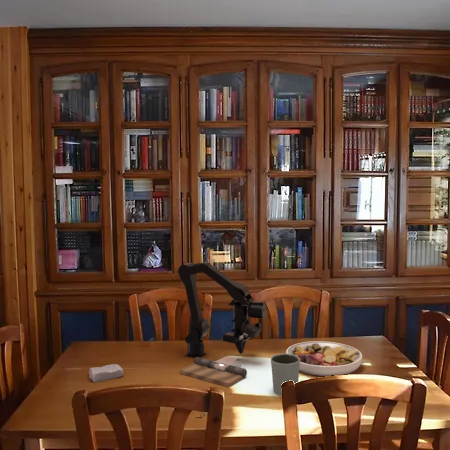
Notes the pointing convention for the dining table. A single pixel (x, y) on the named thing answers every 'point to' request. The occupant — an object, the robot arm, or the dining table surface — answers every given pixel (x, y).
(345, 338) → the dining table surface
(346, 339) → the dining table surface
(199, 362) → the striped wooden board
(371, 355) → the dining table surface
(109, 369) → the stone block
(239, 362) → the pale pink block
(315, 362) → the bowl
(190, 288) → the robot arm
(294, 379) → the gray green cup
